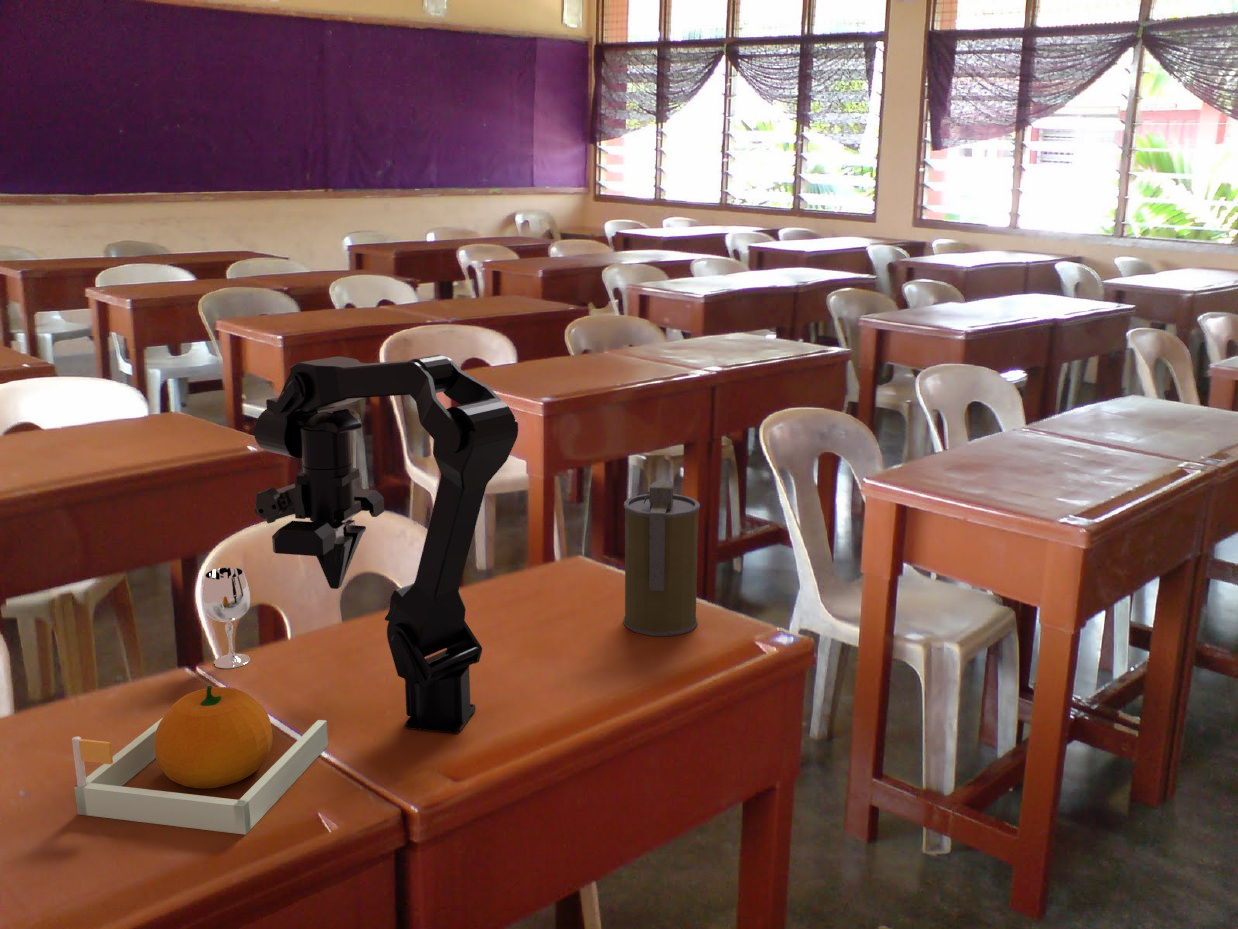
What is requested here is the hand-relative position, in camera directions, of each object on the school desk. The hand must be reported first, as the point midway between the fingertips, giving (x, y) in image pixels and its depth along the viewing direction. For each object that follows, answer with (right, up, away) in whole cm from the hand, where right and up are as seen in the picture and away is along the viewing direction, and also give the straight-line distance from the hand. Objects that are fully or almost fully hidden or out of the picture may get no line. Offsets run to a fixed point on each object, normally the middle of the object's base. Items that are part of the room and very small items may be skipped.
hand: (335, 587), depth 142 cm
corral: (-8, -18, -21) cm, 28 cm away
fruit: (-8, -18, -19) cm, 27 cm away
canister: (+40, -7, +21) cm, 46 cm away
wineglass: (-15, -11, +8) cm, 20 cm away
